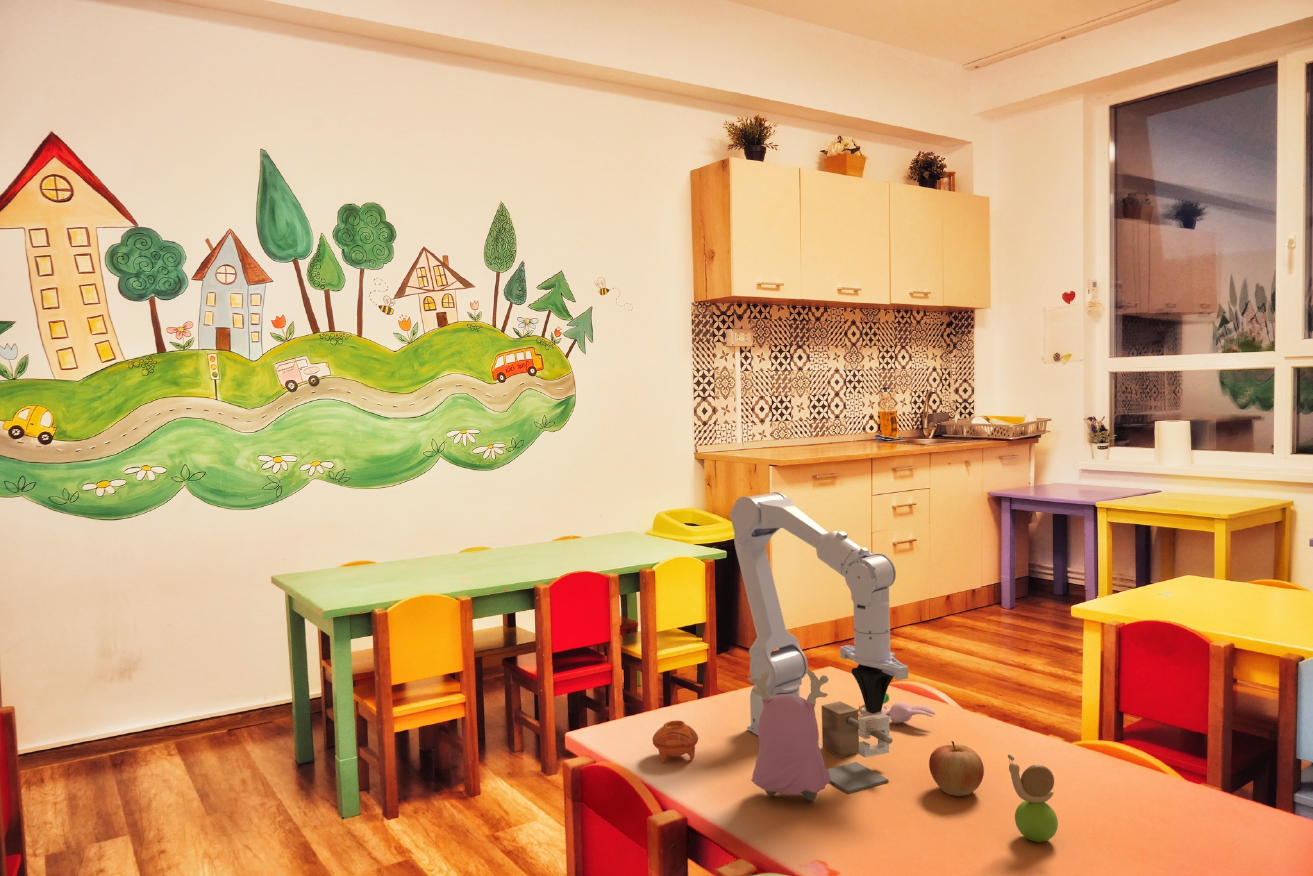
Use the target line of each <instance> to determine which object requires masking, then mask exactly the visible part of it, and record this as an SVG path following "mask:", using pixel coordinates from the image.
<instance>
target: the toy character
mask: <svg viewBox="0 0 1313 876" xmlns="http://www.w3.org/2000/svg"><path fill="white" fill-rule="evenodd" d="M769 674H770V670H767V671H766V672H764V673H762V675H761V678H760V680H758V679H757V678H751V677H750V676H748V677H747V681H748V682H749V683H751V684H754V685H757V689H752V688H751V691H753V692H754V693H755V694H758V695H759V696H761V697H762V698H763V699H762V702H763V710H762V712H761V715H760V719H759V723H758V735H757V737H758V743H759V749H758V755H757V758H756V761H755V764H754V765H755V766H754V769H753V773H752V778H751V780H750V781H751V782H753V784H754V785H756V786H757V787H758V788H760V789H761V790H763V791H765V793H766V795H767V796H768V797H773V796H775V795H776V794H778V793H782V794H783V793H784V794H789V795H792V796H799V795H800V794H801V795H802V796H803V797H804V798H805V799H806V800H808V802H809V801H810V802H813V801H814V800H815V799H816V798H817V793H819V792H820V791H822V790H825V789H826V786H827V785H828V784H830V781H831V778H830V774H829V771H828V770H827V769H828V768H827V767H826V764H825V761H824V758H823V754H822V752H821V749H820V748H821V747H820V745H819V739H820V738H819V737H820V736H819V735H820V734H819V733H820V732H819V727H818V722H817V717H816V712H815V707H816V704H817V701H816V700H817V699H818V698H826V697H828V693H826V692H822V691H821V686H822V685H824V684H827V683H828V682H829V678H828V676H827V675H825V674H822V675H821V676H820V677H819V678H818V676H816V675H815V672H814V671H812V670H810V669H808V670H807V673H806V675H807V676H808V677H809V680H810V685H809V686H810V692H809V694H808V695H807V698H806V699H805V698H804V697H802V696H801V695H800V696H796V695H789V694H785V695H778V696H776V697H773V696H771V695H770V694H769V693H768V691H767V690H766V689H767V688H766V679H767V677H768V676H769Z"/></svg>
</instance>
